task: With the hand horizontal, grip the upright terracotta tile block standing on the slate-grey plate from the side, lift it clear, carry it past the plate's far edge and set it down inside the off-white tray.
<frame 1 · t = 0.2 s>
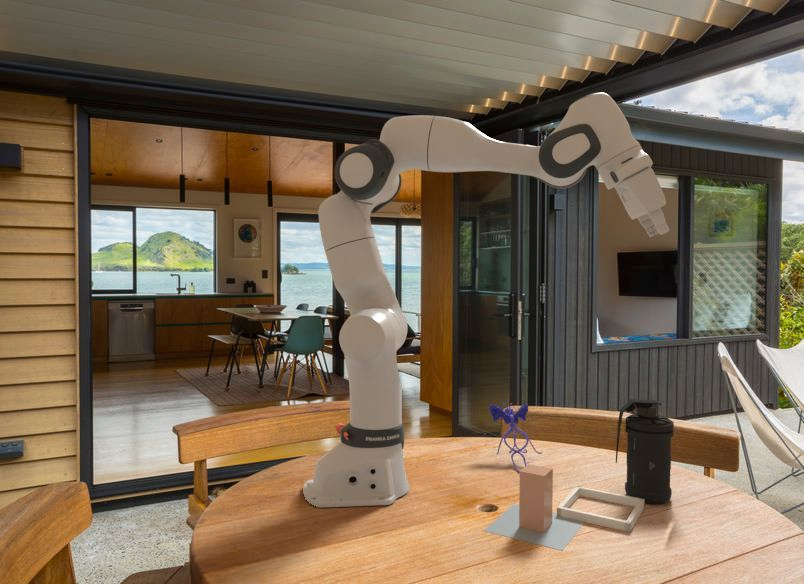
hand: (659, 234, 116), 54 cm above the table, tool tilted 30°, fingers open, 8 cm apart
tile: (535, 525, 108), point 1 cm above the table, touching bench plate
grenade: (643, 497, 126), on the table
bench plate: (535, 533, 108), on the table
squid: (510, 457, 152), on the table
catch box: (601, 518, 115), on the table
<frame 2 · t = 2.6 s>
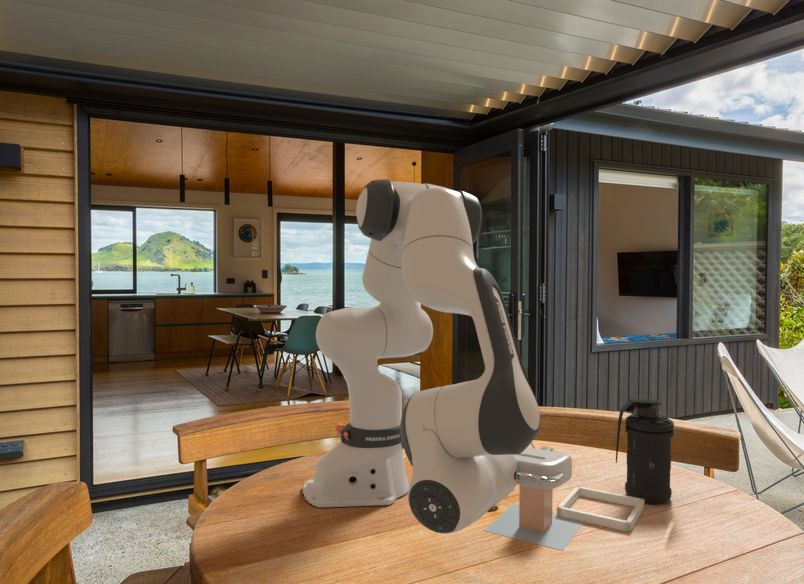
hand: (520, 447, 99), 18 cm above the table, tool horizontal, fingers open, 8 cm apart
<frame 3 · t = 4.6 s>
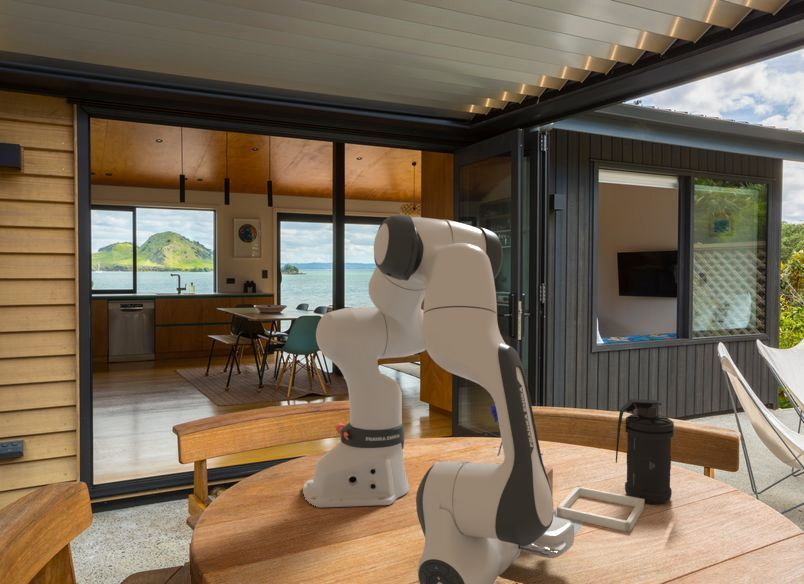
hand: (524, 507, 103), 7 cm above the table, tool horizontal, fingers open, 8 cm apart
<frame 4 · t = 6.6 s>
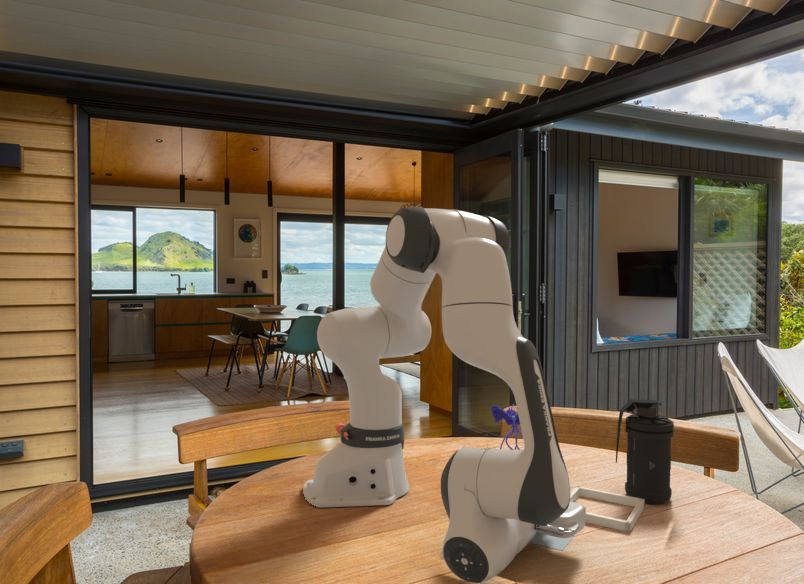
hand: (537, 493, 109), 7 cm above the table, tool horizontal, fingers closed on tile, 4 cm apart
tile: (535, 525, 108), point 2 cm above the table, touching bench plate, gripper
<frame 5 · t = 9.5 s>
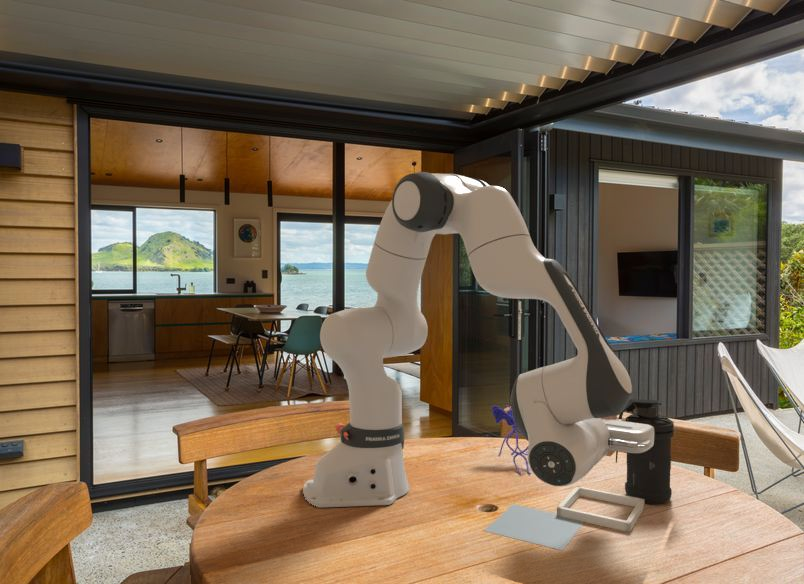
hand: (602, 421, 114), 19 cm above the table, tool horizontal, fingers closed on tile, 4 cm apart
tile: (601, 451, 114), point 13 cm above the table, touching gripper
when the fingers open (7 cm above the table, at t = 12.6 s): tile drops 1 cm, resting on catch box.
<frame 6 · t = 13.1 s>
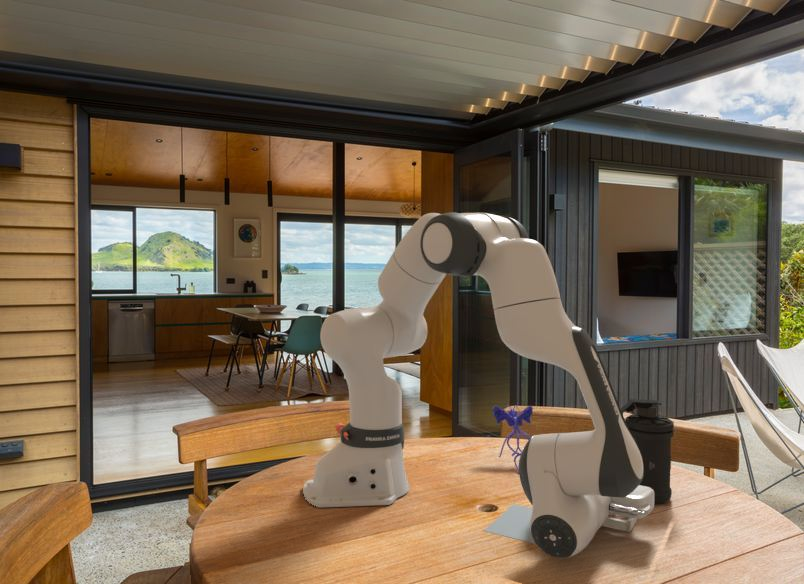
hand: (603, 478, 115), 7 cm above the table, tool horizontal, fingers open, 8 cm apart
tile: (601, 516, 115), resting on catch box
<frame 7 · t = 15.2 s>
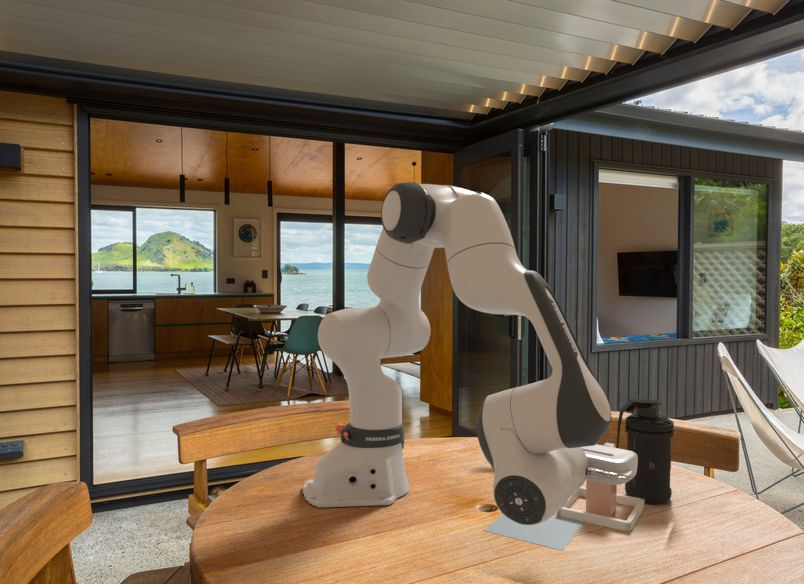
hand: (582, 442, 104), 17 cm above the table, tool horizontal, fingers open, 8 cm apart
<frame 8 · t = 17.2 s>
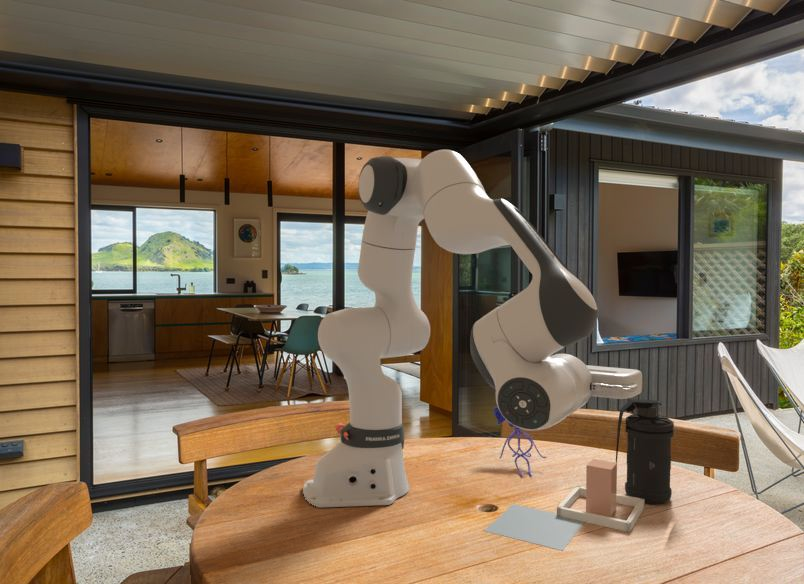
hand: (586, 370, 103), 30 cm above the table, tool horizontal, fingers open, 8 cm apart
at the end: tile 0.1 cm from the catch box (horizontally); tile touching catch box; the gripper is holding nothing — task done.
